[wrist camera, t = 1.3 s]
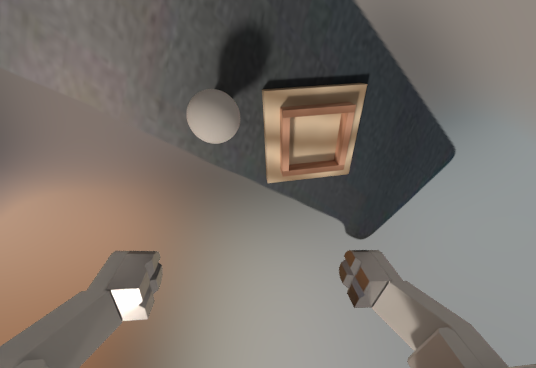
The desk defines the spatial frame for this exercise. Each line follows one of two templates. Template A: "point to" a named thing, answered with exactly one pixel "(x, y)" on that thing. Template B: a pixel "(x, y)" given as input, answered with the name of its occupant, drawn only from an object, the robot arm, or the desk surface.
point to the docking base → (311, 130)
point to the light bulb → (213, 116)
